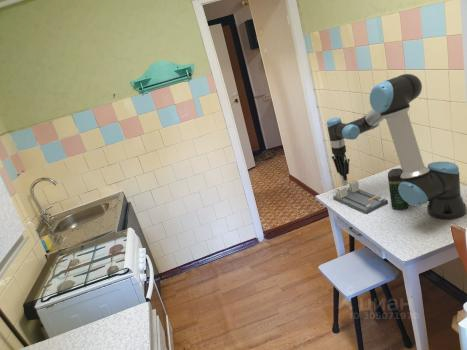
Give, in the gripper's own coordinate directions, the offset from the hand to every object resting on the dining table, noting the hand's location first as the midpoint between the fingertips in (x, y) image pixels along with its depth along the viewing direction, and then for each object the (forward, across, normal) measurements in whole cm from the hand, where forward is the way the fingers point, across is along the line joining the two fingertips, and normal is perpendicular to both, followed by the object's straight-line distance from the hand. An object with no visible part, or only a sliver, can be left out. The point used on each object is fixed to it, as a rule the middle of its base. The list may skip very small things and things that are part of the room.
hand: (345, 184), depth 213 cm
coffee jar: (+4, -35, -5) cm, 36 cm away
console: (+4, -16, +4) cm, 17 cm away
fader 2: (+1, -8, 0) cm, 8 cm away
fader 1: (+1, -8, +8) cm, 11 cm away
